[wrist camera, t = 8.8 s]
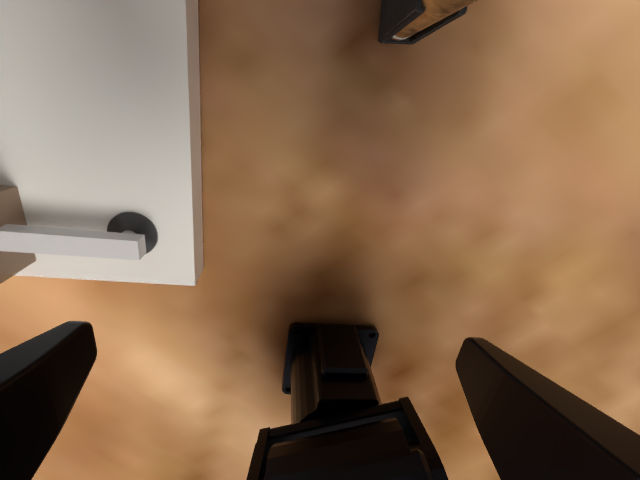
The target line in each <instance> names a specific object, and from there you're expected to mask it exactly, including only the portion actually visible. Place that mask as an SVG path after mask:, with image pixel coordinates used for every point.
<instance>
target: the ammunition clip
mask: <svg viewBox="0 0 640 480" xmlns="http://www.w3.org/2000/svg"><path fill="white" fill-rule="evenodd" d="M475 1H477V0H382V3H381V15H380V27H379V39H378V41H379V42H380V43H394V44H414V43H416V42H417V41H419V40H421V39H423V38H424V37H426V36H428V35H429V34H431V33H433V32H434V31H436V30H438V29H439V28H441V27H443V26H445V25H446V24H448V23H450V22H452V21H453V20H455V19H457V18H459V17H460V16H462V15H464V14H465V13H466V11H467V6H468V5H470V4H472V3H473V2H475Z"/></svg>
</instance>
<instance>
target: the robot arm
mask: <svg viewBox="0 0 640 480" xmlns="http://www.w3.org/2000/svg"><path fill="white" fill-rule="evenodd" d="M293 330H298V331H296V332H295V331H293ZM370 333H373V334H370ZM378 337H379V333H378V330H377V328H376V327H373V326H355V325H332V324H309V323H293V324H291V325H290V326H289V329H288V338H287V347H286V356H285V365H284V374H283V383H282V391H283V392H284V393H285V394H291V424H290V425H285V426H281V427H276V428H272V429H270V427H268V428H264V429H260V432H259V436H258V440H257V443H256V444H255V448H254V452H253V456H252V460H251V464H250V468H249V472H248V476H247V480H448V477H447V475H446V472H445V469H444V467H443V464H442V462H441V460H440V457H439V455H438V453H437V451H436V449H435V447H434V445H433V443H432V441H431V439H430V438H429V436H428V434H427V432H426V430H425V428H424V426H423V424H422V422H421V420H420V419H419V417H418V415H417V413H416V411H415V409H414V407H413V405H412V403H411V401H410V400H409V398H408V397H404V398H400V399H399V401H394V402H390V403H385V404H382V403H381V400H380V397H379V393H378V390H377V387H376V384H375V380H374V377H373V374H372V371H371V364H372V360H373V356H374V352H375V348H376V344H377V340H378ZM96 356H97V347H96V342H95V337H94V332H93V327H92V325H91V324H90V323H89V322H83V321H68V322H65V323H63V324H61V325H59V326H57V327H55V328H53V329H51V330H49V331H47V332H45V333H43V334H40V335H38V336H36V337H34V338H32V339H30V340H28V341H26V342H24V343H22V344H20V345H18V346H16V347H13V348H11V349H9V350H7V351H5V352H3V353H1V354H0V480H31V479H32V478H33V476H34V474H35V473H36V471H37V470H38V468H39V466H40V465H41V463H42V461H43V460H44V458H45V456H46V455H47V453H48V452H49V450H50V448H51V447H52V445H53V443H54V442H55V440H56V438H57V436H58V435H59V433H60V431H61V429H62V428H63V426H64V424H65V422H66V420H67V418H68V416H69V414H70V412H71V410H72V408H73V406H74V403H75V401H76V399H77V397H78V395H79V393H80V391H81V389H82V387H83V385H84V383H85V381H86V379H87V377H88V375H89V373H90V371H91V368H92V366H93V364H94V362H95V360H96ZM456 371H457V374H458V376H459V379H460V382H461V385H462V388H463V390H464V393H465V396H466V399H467V401H468V404H469V407H470V410H471V413H472V415H473V418H474V421H475V423H476V426H477V429H478V431H479V433H480V435H481V438H482V440H483V442H484V444H485V447H486V449H487V451H488V453H489V455H490V457H491V459H492V462H493V464H494V466H495V468H496V470H497V472H498V475H499V477H500V479H501V480H640V435H638V434H637V433H635V432H634V431H632V430H630V429H629V428H627V427H626V426H624V425H622V424H621V423H619V422H617V421H616V420H614V419H613V418H611V417H609V416H608V415H606V414H605V413H603V412H601V411H600V410H598V409H596V408H595V407H593V406H592V405H590V404H588V403H587V402H585V401H584V400H582V399H580V398H579V397H577V396H575V395H574V394H572V393H571V392H569V391H567V390H566V389H564V388H563V387H561V386H559V385H558V384H556V383H555V382H553V381H551V380H550V379H548V378H546V377H545V376H543V375H542V374H540V373H538V372H537V371H535V370H534V369H532V368H530V367H529V366H527V365H525V364H524V363H522V362H521V361H519V360H517V359H516V358H514V357H513V356H511V355H509V354H508V353H506V352H504V351H503V350H501V349H500V348H498V347H496V346H495V345H493V344H492V343H490V342H488V341H487V340H485V339H483V338H475V337H468V338H466V339H465V340H464V342H463V344H462V347H461V349H460V352H459V354H458V357H457V359H456ZM288 387H289V388H288Z"/></svg>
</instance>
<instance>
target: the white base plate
mask: <svg viewBox="0 0 640 480" xmlns="http://www.w3.org/2000/svg"><path fill="white" fill-rule="evenodd" d="M203 269H204V266H203V217H202V167H201V118H200V69H199V20H198V0H0V284H1V283H2V282H4V281H5V280H7V279H9V278H10V277H12V276H13V275H15V276H32V277H50V278H67V279H85V280H102V281H119V282H137V283H154V284H171V285H189V286H195V285H196V283H197V281H198V279H199V277H200V275H201V273H202V271H203Z"/></svg>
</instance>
